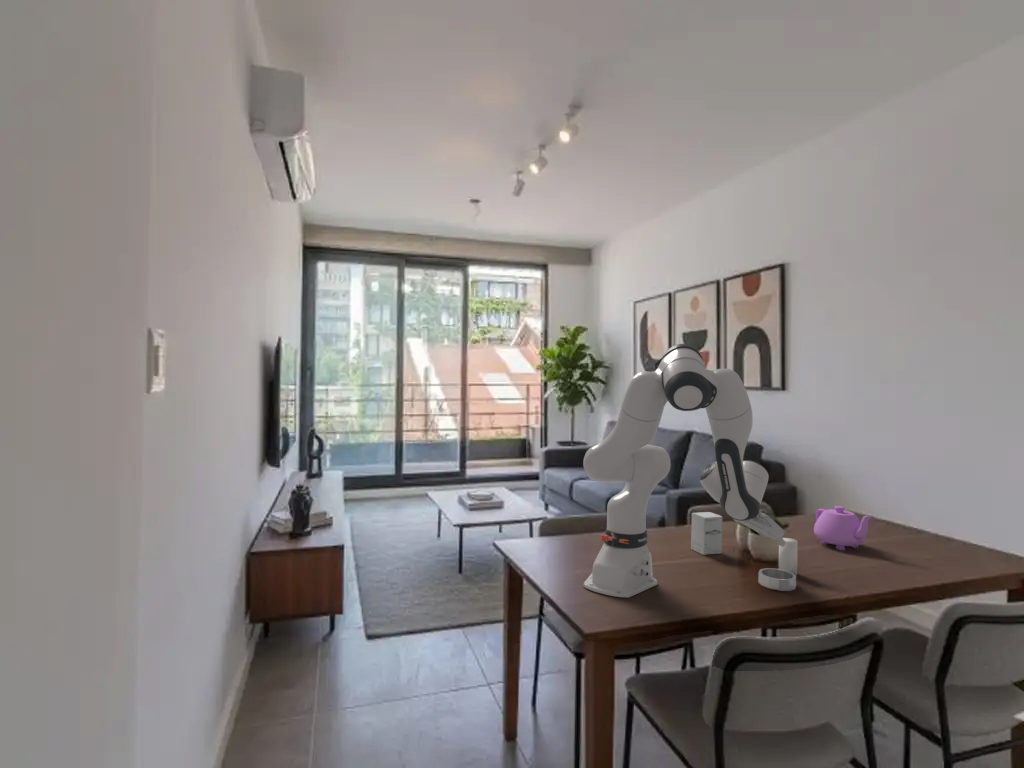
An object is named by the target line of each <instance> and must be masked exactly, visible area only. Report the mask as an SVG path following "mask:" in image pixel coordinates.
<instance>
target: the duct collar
mask: <svg viewBox="0 0 1024 768" xmlns="http://www.w3.org/2000/svg"><path fill="white" fill-rule="evenodd" d="M758 584H760V585H761V586H762V587H765V588H766V589H770V590H775V591H778V592H779V591H781V592H790V591H794V590H796V588H797V576H795V575H794V574H793V573H791V572H788V571H786V570H781V569H779V568H775V567H774V568H773V567H772V568H771V567H769V568H768V567H766V568H760V569H759V571H758Z"/></svg>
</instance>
